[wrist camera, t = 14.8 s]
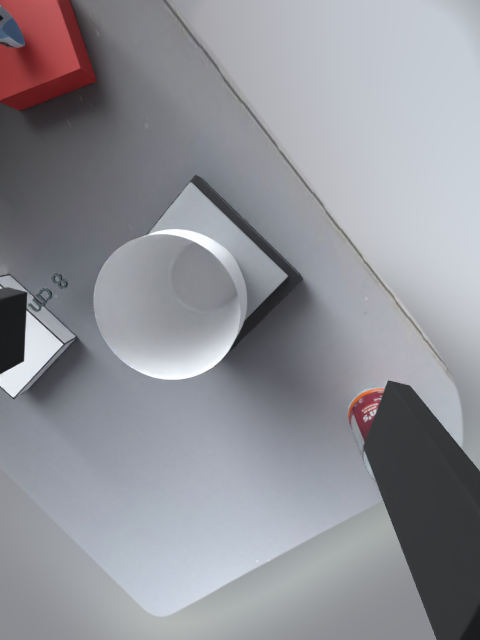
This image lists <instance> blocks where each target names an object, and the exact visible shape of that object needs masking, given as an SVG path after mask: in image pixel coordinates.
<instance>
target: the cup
mask: <svg viewBox="0 0 480 640" xmlns="http://www.w3.org/2000/svg"><path fill="white" fill-rule="evenodd" d="M93 306H94V314H95V318H96V322H97V325H98V328H99V330H100V333H101V335H102V337H103V339H104V340H105V342H106V343H107V345H108V346H109V348H110V349H111V350H112V351H113V352H114V353H115V355H116V356H117V357H118V358H120V359H121V360H122V361H123V362H124V363H126V364H127V365H128V366H130V367H131V368H133V369H135V370H137V371H139V372H141V373H143V374H145V375H148V376H151V377H155V378H160V379H170V380H175V379H185V378H190V377H194V376H196V375H199V374H201V373H204V372H206V371H207V370H209V369H211V368H212V367H213V366H215V365H216V364H217V363H218V362H219V361H221V360H222V358H223V357H224V356H225V355H226V354H227V352H228V351H229V350H230V348H231V346H232V344H233V343H234V341H235V339H236V337H237V335H238V334H239V332H240V330H241V328H242V326H243V323H244V320H245V316H246V311H247V290H246V285H245V281H244V278H243V275H242V273H241V270H240V268H239V266H238V264H237V262H236V260H235V258H234V257H233V256H232V254H231V253H230V252H229V251H228V250H227V249H225V248H224V247H223V246H221V245H220V244H218V243H217V242H215V241H214V240H212V239H210V238H209V237H207V236H205V235H202V234H200V233H196V232H193V231H188V230H181V229H168V230H162V231H157V232H154V233H151V234H149V235H145V236H142V237H139V238H136V239H133V240H131V241H129V242H127V243H125V244H124V245H122V246H121V247H120V248H118V249H117V250H116V251H115V252H114V253H113V254H112V255H111V256H110V257H109V258H108V259H107V261H106V262H105V263H104V265H103V267H102V268H101V270H100V272H99V275H98V277H97V280H96V284H95V289H94V297H93Z"/></svg>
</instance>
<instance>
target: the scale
mask: <svg viewBox="0 0 480 640" xmlns="http://www.w3.org/2000/svg"><path fill="white" fill-rule="evenodd" d="M168 229H181V230H188V231H193V232H196V233H200V234H202V235H205V236H207V237H209V238H210V239H212V240H214V241H215V242H217V243H218V244H220V245H221V246H223V247H224V248H225V249H227V250H228V251H229V252H230V253H231V254H232V256H233V257H234V258H235V260H236V262H237V264H238V266H239V268H240V270H241V273H242V275H243V278H244V281H245V285H246V290H247V311H246V316H245V320H244V323H243V326H242V328H241V330H240V332H239V334H238V335H237V337H236V339H235V341H234V343H233V344H232V346H231V348H230V350H229V351H228V352H227V354H228V353H229V352H230V351H231V350H232V349H233V348H234V347H235V346H236V345H237V344H238V343H239V342H240V341H241V340H242V339H243V338H244V337H245V336H246V335H247V334H248V333H249V332H250V331H251V330H252V329H253V328H254V327H255V326H256V325H257V324H258V323H259V322H260V321H261V320H262V319H263V318H264V317H265V316H266V315H267V314H268V313H269V312H270V311H271V310H272V309H273V308H274V307H275V306H276V305H277V304H278V303H279V302H280V301H281V300H282V299H283V298H284V297H285V296H286V295H287V294H288V293H289V292H290V291H291V290H292V289H293V288H294V287H295V286H296V285H297V284H298V283H299V282H300V281H301V280H302V277H301V275H300V273H299V272H298V271H297V270H296V269H295V268H294V267H293V266H292V265H291V264H289V263H288V262H287V261H286V260H285V259H284V258H283V257H282V256H281V255H280V254H279V253H278V252H277V251H276V250H275V249H274V248H273V247H272V246H271V245H270V244H269V243H268V242H267V241H266V240H265V239H264V238H263V237H262V236H261V235H260V234H259V233H258V232H257V231H256V230H255V229H254V228H253V227H251V226H250V225H249V224H248V223H247V222H246V221H245V220H244V219H243V218H242V217H241V216H240V215H239V214H238V213H237V212H236V211H235V210H234V209H233V208H232V207H231V206H230V205H229V204H228V203H227V202H226V201H225V200H224V199H223V198H222V197H221V196H220V195H219V194H218V193H217V192H216V191H215V190H213V189H212V188H211V187H210V186H209V185H208V184H207V183H206V182H205V181H204V180H203V179H202V178H200V177H199V176H197V175H195V176H194V177H193V178H192V179H191V181H190V182H189V183H188V184H187V185H186V187H185V188H184V189H183V190H182V192H181V193H180V194H179V195H178V197H177V198H176V199H175V200H174V201H173V203H172V204H171V205H170V206H169V208H168V209H167V210H166V211H165V213H164V214H163V215H162V216H161V217H160V219H159V220H158V221H157V222H156V224H155V225H154V226H153V227H152V229H151V230H150V231H149V232H148V233H147V235H149V234H151V233H154V232H157V231H162V230H168ZM227 354H226V355H227ZM226 355H225V356H226ZM225 356H224V357H225ZM224 357H223V358H224ZM223 358H222V359H223ZM219 362H220V361H219ZM219 362H218V363H219ZM218 363H217V364H218ZM217 364H216V365H217ZM216 365H215V366H216Z"/></svg>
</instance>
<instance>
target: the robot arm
mask: <svg viewBox="0 0 480 640" xmlns="http://www.w3.org/2000/svg"><path fill="white" fill-rule="evenodd" d="M26 312H27V292H25V291H21V290H17V289H13V288H9V287H6V288H1V289H0V374H2V373H4V372H5V371H7V370H9V369H11V368H13V367H15V366H16V365H18V364H20V363H22V362H24V353H25V332H26ZM363 448H364V451H365V453H366V456H367V459H368V461H369V464H370V467H371V469H372V472H373V474H374V477H375V480H376V482H377V485H378V487H379V490H380V493H381V495H382V498H383V501H384V503H385V506H386V508H387V511H388V514H389V516H390V518H391V521H392V524H393V527H394V529H395V532H396V534H397V537H398V539H399V542H400V544H401V548H402V550H403V553H404V555H405V558H406V561H407V563H408V566H409V569H410V571H411V573H412V576H413V579H414V582H415V584H416V587H417V589H418V592H419V595H420V597H421V600H422V602H423V605H424V608H425V610H426V613H427V616H428V618H429V621H430V623H431V626H432V629H433V631H434V634H435V636H436V639H437V640H480V471H479V470H478V469H477V467H476V466H475V465H474V464H473V462H472V461H471V460H470V459H469V458H468V456H467V455H466V454H465V453H464V451H463V450H462V449H461V448H460V446H459V445H458V444H457V443H456V442H455V440H454V439H453V438H452V437H451V435H450V434H449V433H448V432H447V431H446V429H445V428H444V427H443V426H442V424H441V423H440V422H439V421H438V419H437V418H436V417H435V416H434V415H433V413H432V412H431V411H430V410H429V408H428V407H427V406H426V405H425V404H424V402H423V401H422V400H421V399H420V397H419V396H418V395H417V394H416V392H415V391H414V390H413V389H412V388H411V386H409V385H405V384H401V383H397V382H393V381H389V380H388V382H387V385H386V387H385V390H384V393H383V395H382V398H381V401H380V403H379V406H378V409H377V411H376V414H375V417H374V419H373V422H372V424H371V427H370V430H369V432H368V435H367V438H366V440H365V443H364V446H363Z"/></svg>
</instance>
